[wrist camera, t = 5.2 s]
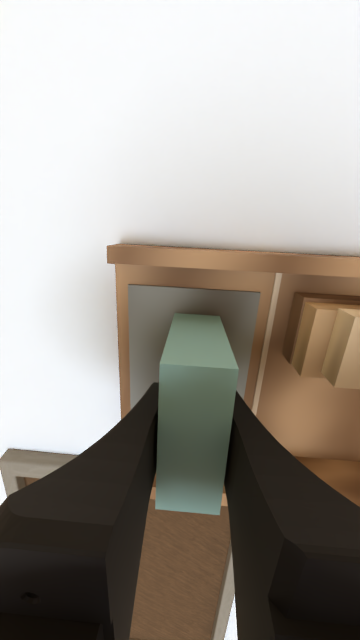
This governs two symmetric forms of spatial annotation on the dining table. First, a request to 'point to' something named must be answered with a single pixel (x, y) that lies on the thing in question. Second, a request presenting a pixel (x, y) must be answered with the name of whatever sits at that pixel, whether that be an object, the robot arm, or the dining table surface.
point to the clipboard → (162, 561)
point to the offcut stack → (325, 338)
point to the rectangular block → (194, 414)
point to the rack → (244, 341)
